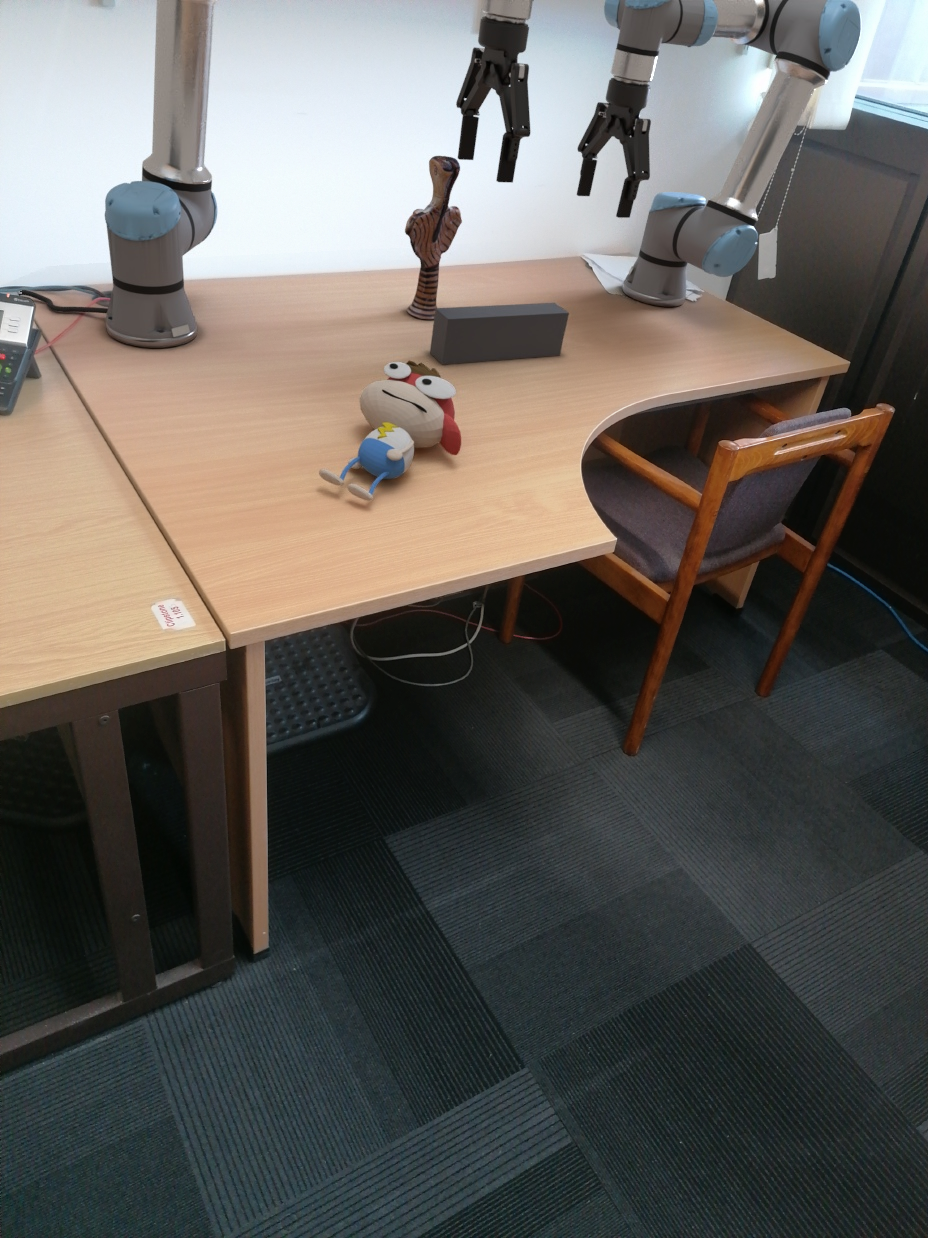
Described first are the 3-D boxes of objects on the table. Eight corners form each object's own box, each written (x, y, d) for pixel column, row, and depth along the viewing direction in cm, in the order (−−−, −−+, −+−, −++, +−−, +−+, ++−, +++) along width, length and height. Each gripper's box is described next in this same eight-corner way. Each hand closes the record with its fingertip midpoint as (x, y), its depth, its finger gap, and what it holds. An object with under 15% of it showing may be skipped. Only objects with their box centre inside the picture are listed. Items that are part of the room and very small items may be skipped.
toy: (281, 425, 122) (398, 341, 141) (280, 482, 129) (391, 396, 148) (394, 483, 117) (499, 388, 137) (386, 539, 125) (486, 442, 144)
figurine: (432, 300, 190) (450, 146, 171) (461, 312, 187) (483, 156, 168) (388, 314, 180) (402, 152, 161) (417, 327, 177) (436, 163, 158)
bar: (442, 364, 165) (448, 318, 160) (429, 353, 168) (435, 307, 163) (559, 355, 177) (569, 312, 171) (546, 344, 180) (554, 302, 175)
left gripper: (570, 35, 129) (542, 191, 142) (487, 7, 145) (469, 150, 158) (526, 30, 125) (502, 191, 138) (446, 2, 141) (431, 149, 155)
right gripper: (690, 96, 152) (656, 226, 165) (607, 67, 168) (582, 187, 181) (656, 94, 149) (624, 226, 162) (575, 64, 165) (552, 186, 178)
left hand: (484, 170), depth 148 cm, fingers open, 13 cm apart
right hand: (602, 206), depth 172 cm, fingers open, 13 cm apart
